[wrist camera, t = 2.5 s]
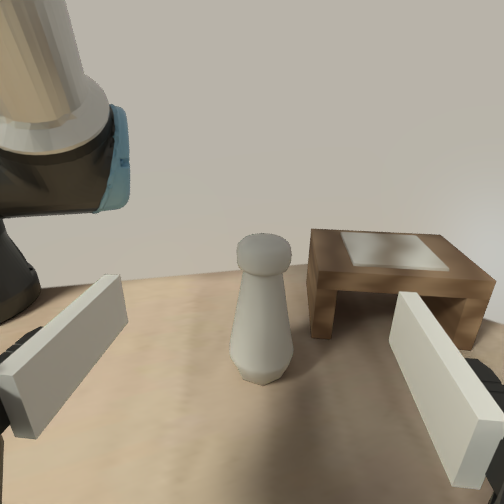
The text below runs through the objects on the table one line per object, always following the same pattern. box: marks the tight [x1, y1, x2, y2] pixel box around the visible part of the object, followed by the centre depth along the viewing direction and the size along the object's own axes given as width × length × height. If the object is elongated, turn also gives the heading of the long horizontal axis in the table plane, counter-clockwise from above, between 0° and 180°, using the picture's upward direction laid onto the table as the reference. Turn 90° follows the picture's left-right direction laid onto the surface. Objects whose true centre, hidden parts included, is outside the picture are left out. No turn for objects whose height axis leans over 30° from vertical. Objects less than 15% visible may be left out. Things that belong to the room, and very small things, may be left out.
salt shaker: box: [230, 233, 294, 386], centre depth 27 cm, size 6×6×13 cm
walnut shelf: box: [306, 229, 496, 350], centre depth 37 cm, size 16×12×8 cm
